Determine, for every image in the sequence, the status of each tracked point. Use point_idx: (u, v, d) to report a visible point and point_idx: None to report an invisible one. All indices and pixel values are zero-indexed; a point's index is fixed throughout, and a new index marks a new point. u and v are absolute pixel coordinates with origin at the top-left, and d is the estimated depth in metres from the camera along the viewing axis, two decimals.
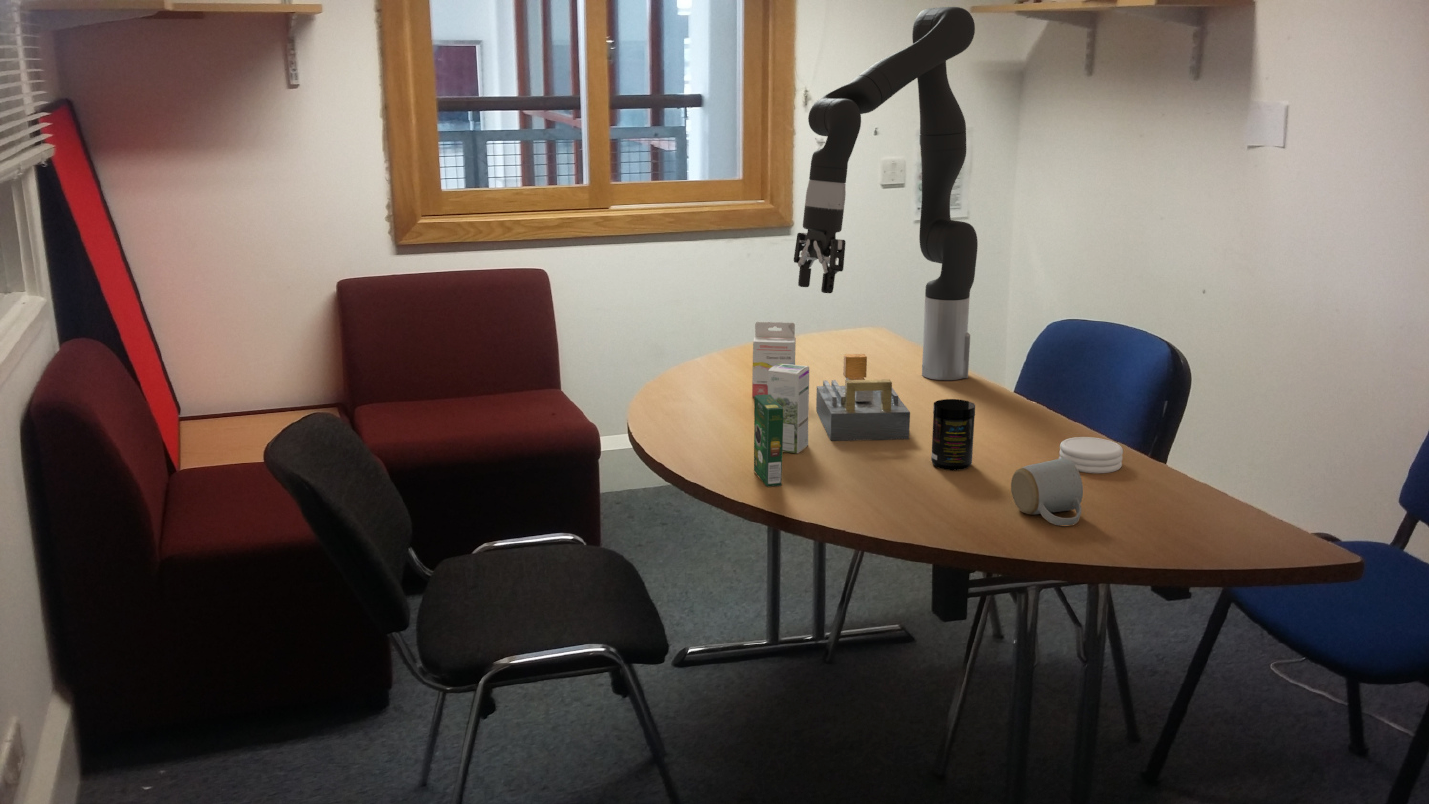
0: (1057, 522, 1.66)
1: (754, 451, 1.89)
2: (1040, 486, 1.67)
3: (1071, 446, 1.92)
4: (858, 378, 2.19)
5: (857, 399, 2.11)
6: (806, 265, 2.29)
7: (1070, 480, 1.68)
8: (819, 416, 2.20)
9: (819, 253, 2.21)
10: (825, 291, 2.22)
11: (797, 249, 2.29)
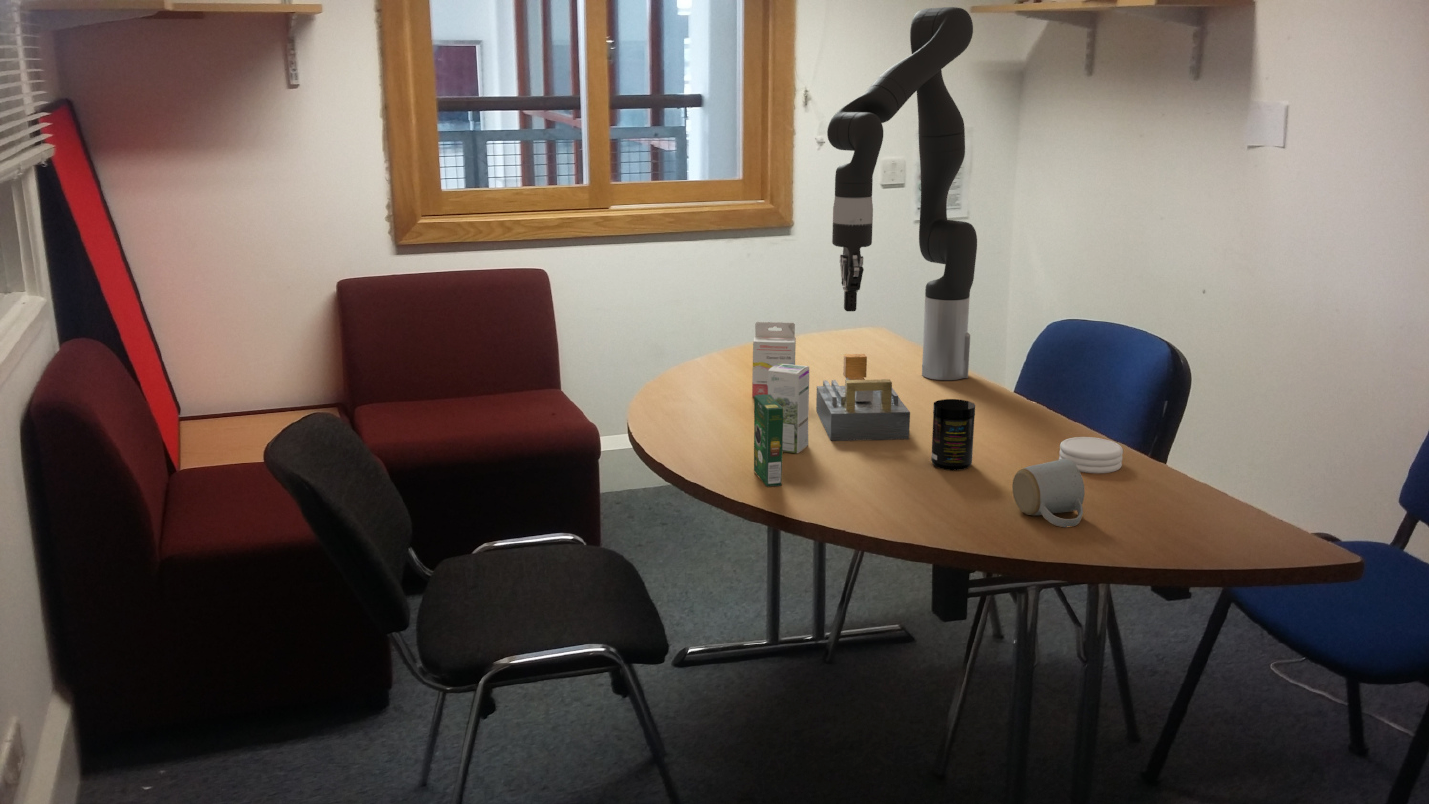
0: (1059, 523, 1.66)
1: (754, 451, 1.89)
2: (1042, 487, 1.67)
3: (1071, 446, 1.92)
4: (858, 378, 2.19)
5: (857, 399, 2.11)
6: None
7: (1072, 480, 1.68)
8: (819, 416, 2.20)
9: (843, 271, 2.22)
10: (847, 309, 2.24)
11: None
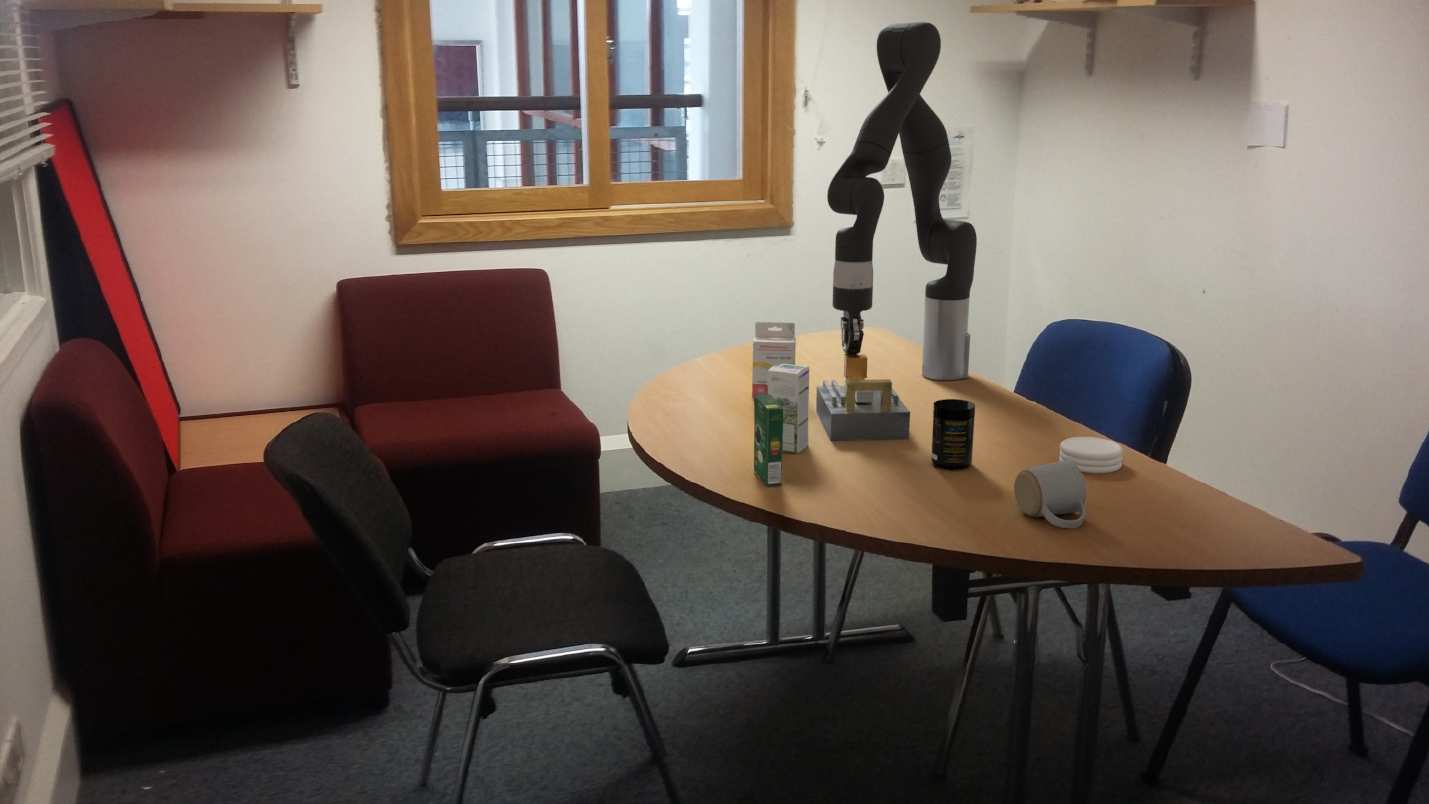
0: (1061, 524, 1.65)
1: (754, 451, 1.89)
2: (1044, 489, 1.66)
3: (1071, 446, 1.92)
4: (859, 379, 2.19)
5: (858, 400, 2.10)
6: None
7: (1074, 482, 1.67)
8: (819, 416, 2.20)
9: (843, 334, 2.21)
10: None
11: None
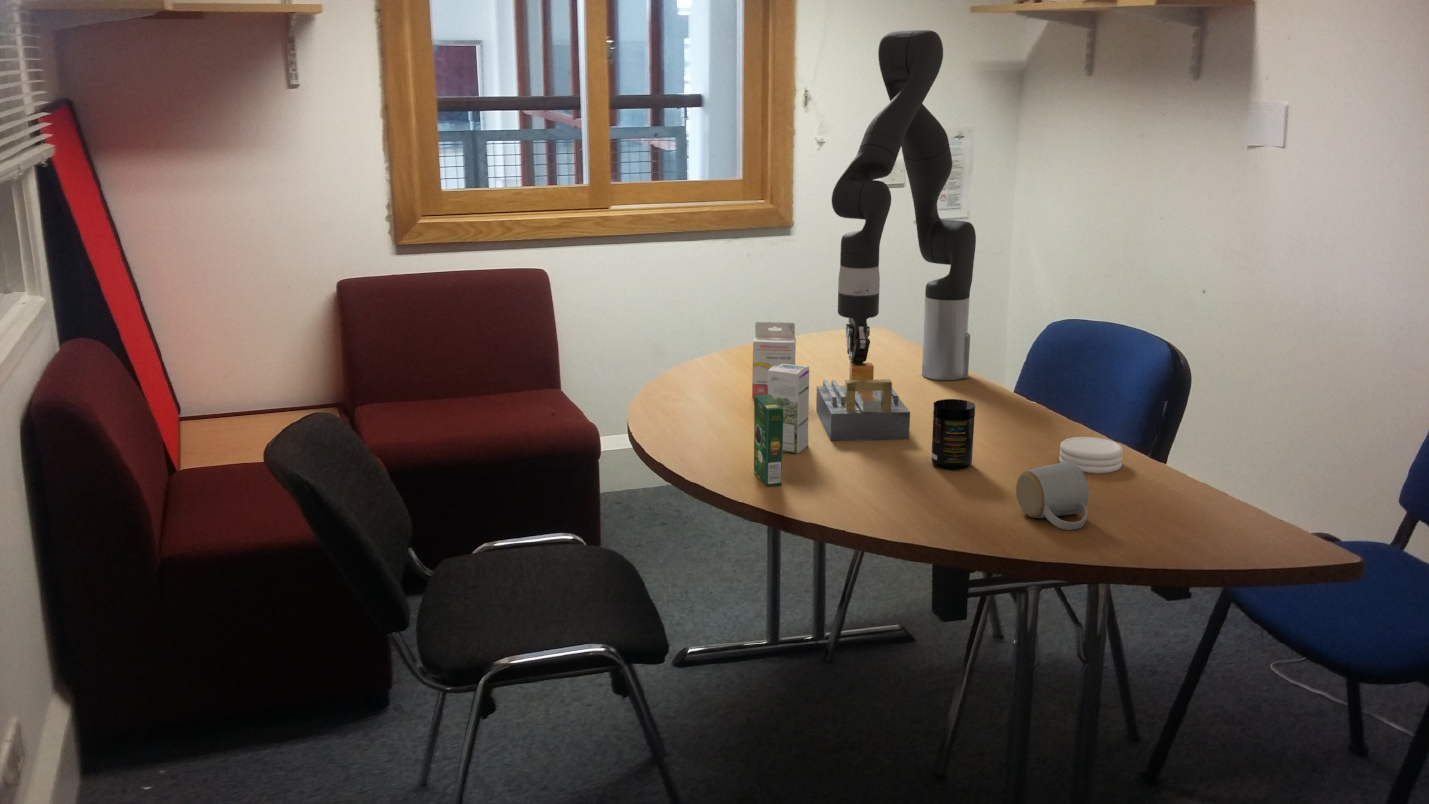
0: (1063, 526, 1.65)
1: (754, 451, 1.89)
2: (1046, 490, 1.66)
3: (1071, 446, 1.92)
4: None
5: (864, 410, 2.04)
6: None
7: (1076, 483, 1.67)
8: (819, 416, 2.20)
9: (849, 341, 2.15)
10: None
11: None
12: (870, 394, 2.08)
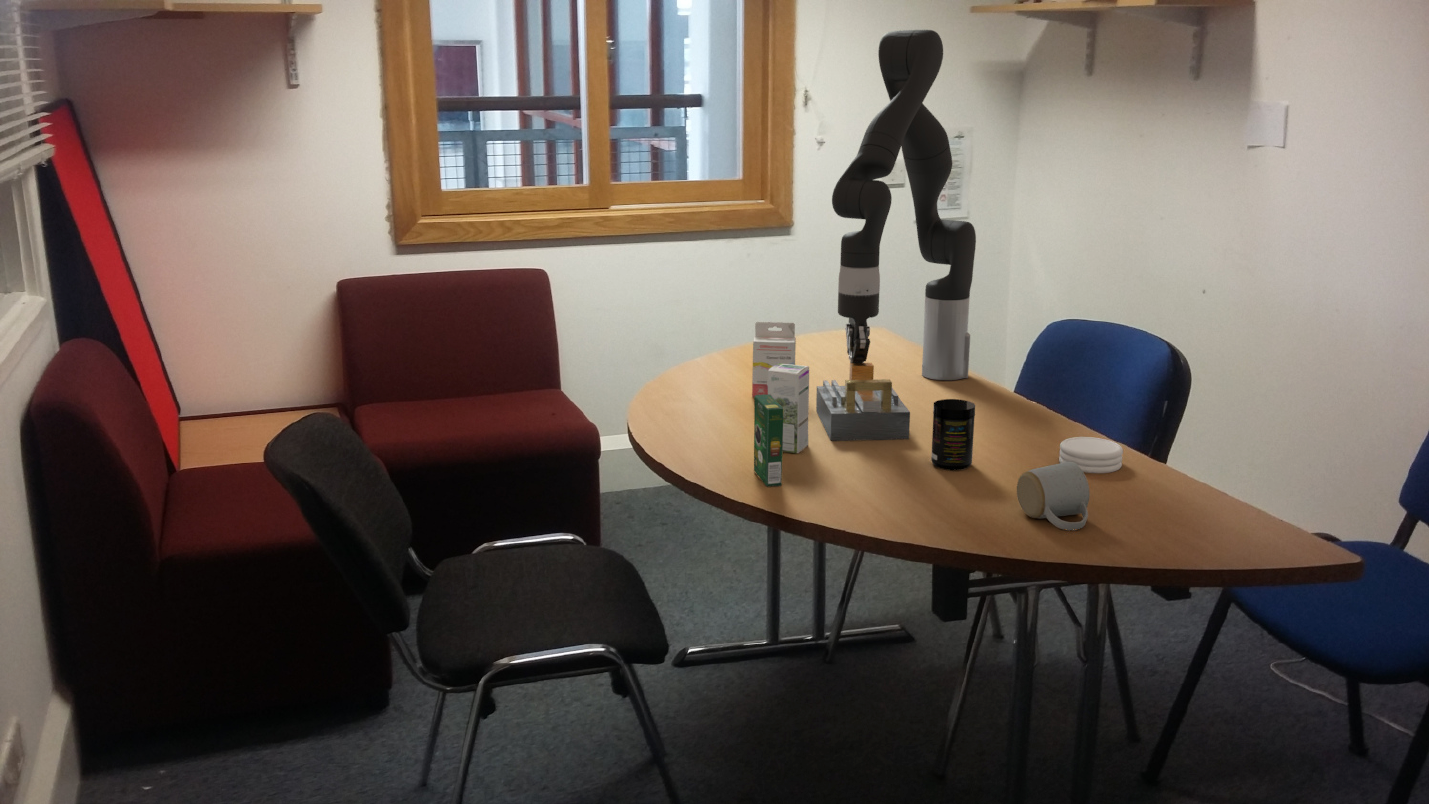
0: (1063, 526, 1.64)
1: (754, 451, 1.89)
2: (1047, 490, 1.66)
3: (1071, 446, 1.92)
4: None
5: (864, 410, 2.04)
6: None
7: (1076, 483, 1.67)
8: (819, 416, 2.20)
9: (849, 341, 2.15)
10: None
11: None
12: (870, 394, 2.08)
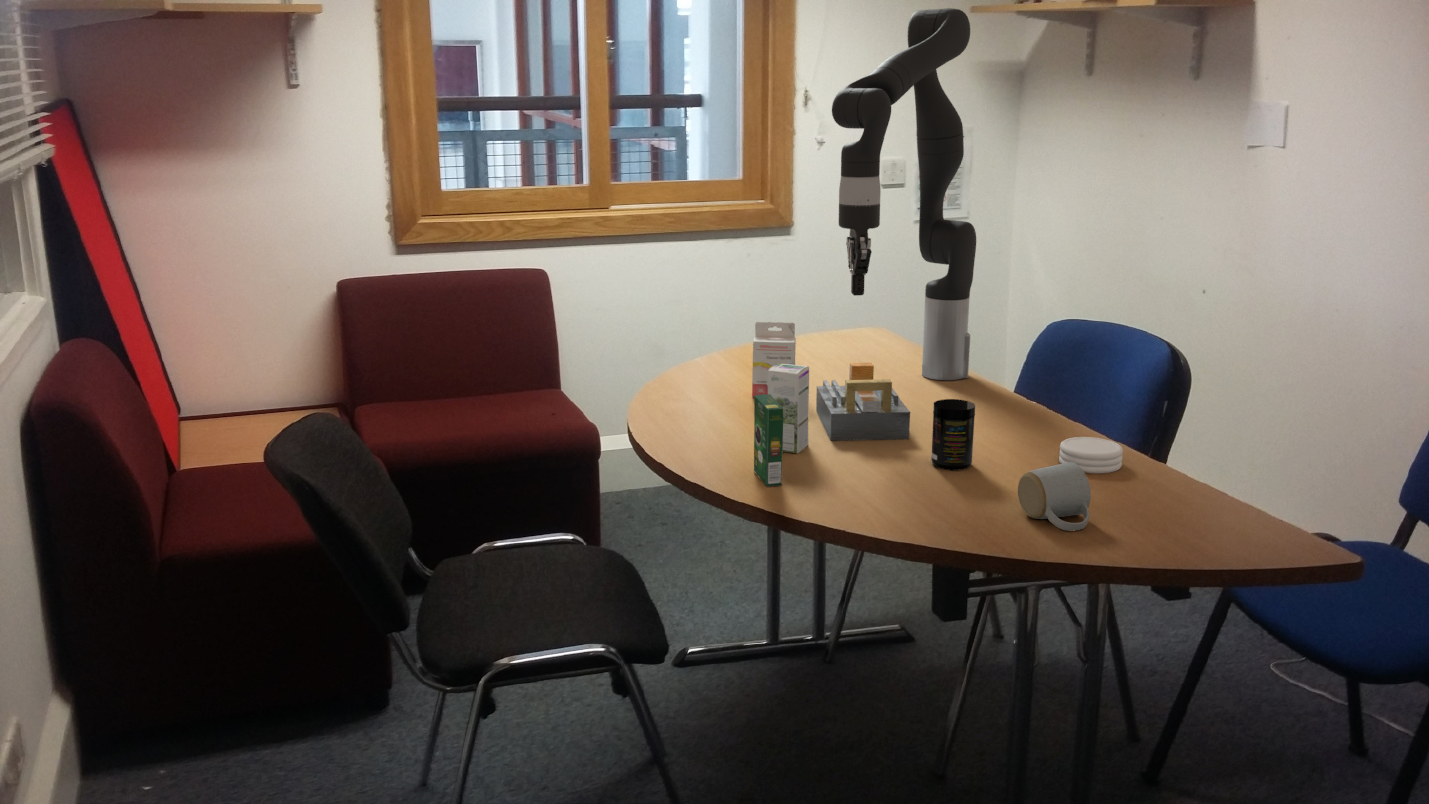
0: (1065, 527, 1.64)
1: (754, 451, 1.89)
2: (1048, 491, 1.65)
3: (1071, 446, 1.92)
4: None
5: (864, 410, 2.04)
6: None
7: (1078, 484, 1.66)
8: (819, 416, 2.20)
9: (850, 254, 2.14)
10: (855, 293, 2.17)
11: None
12: (870, 394, 2.08)
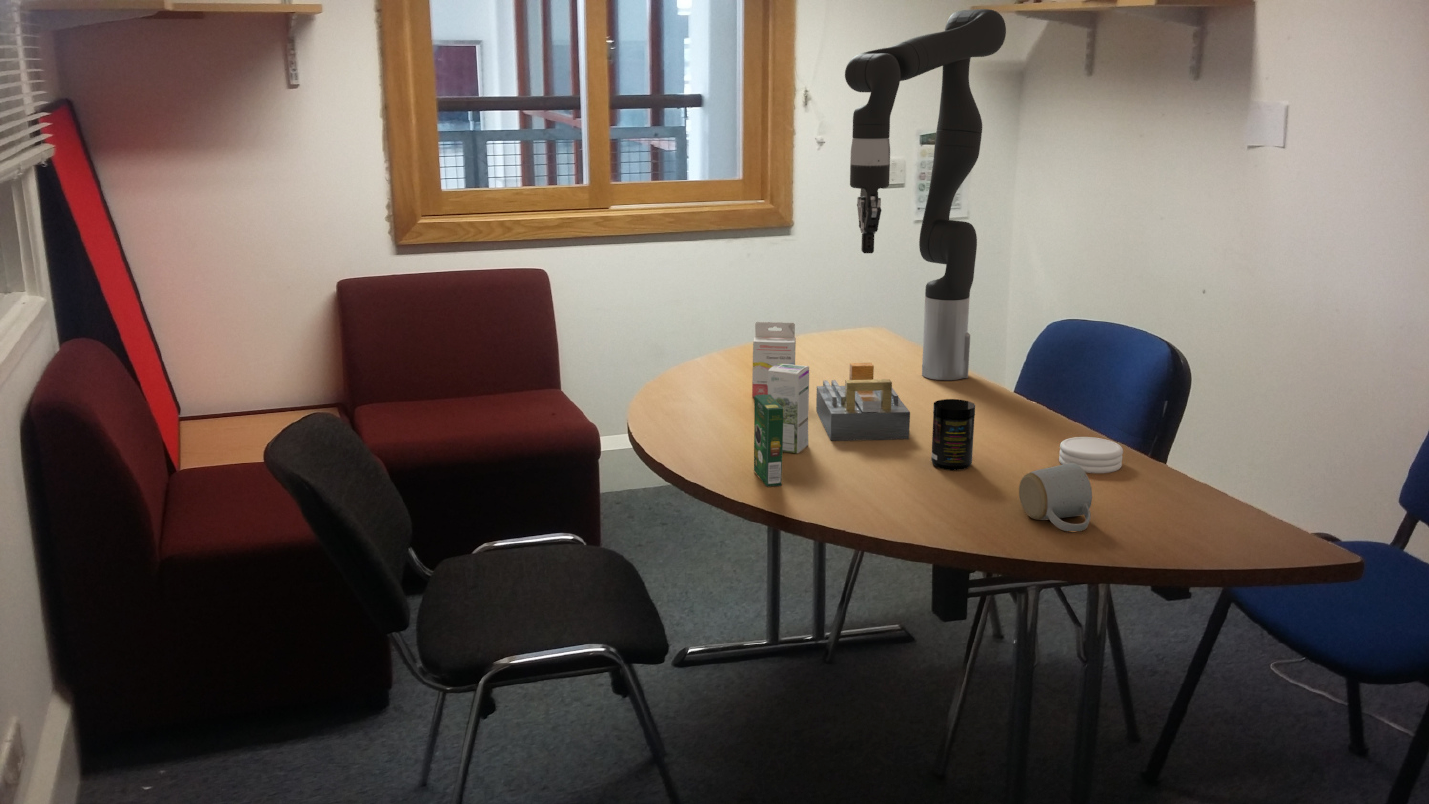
0: (1066, 528, 1.64)
1: (754, 451, 1.89)
2: (1049, 492, 1.65)
3: (1071, 446, 1.92)
4: None
5: (864, 410, 2.04)
6: None
7: (1079, 485, 1.66)
8: (819, 416, 2.20)
9: (861, 213, 2.24)
10: (865, 251, 2.26)
11: None
12: (870, 394, 2.08)
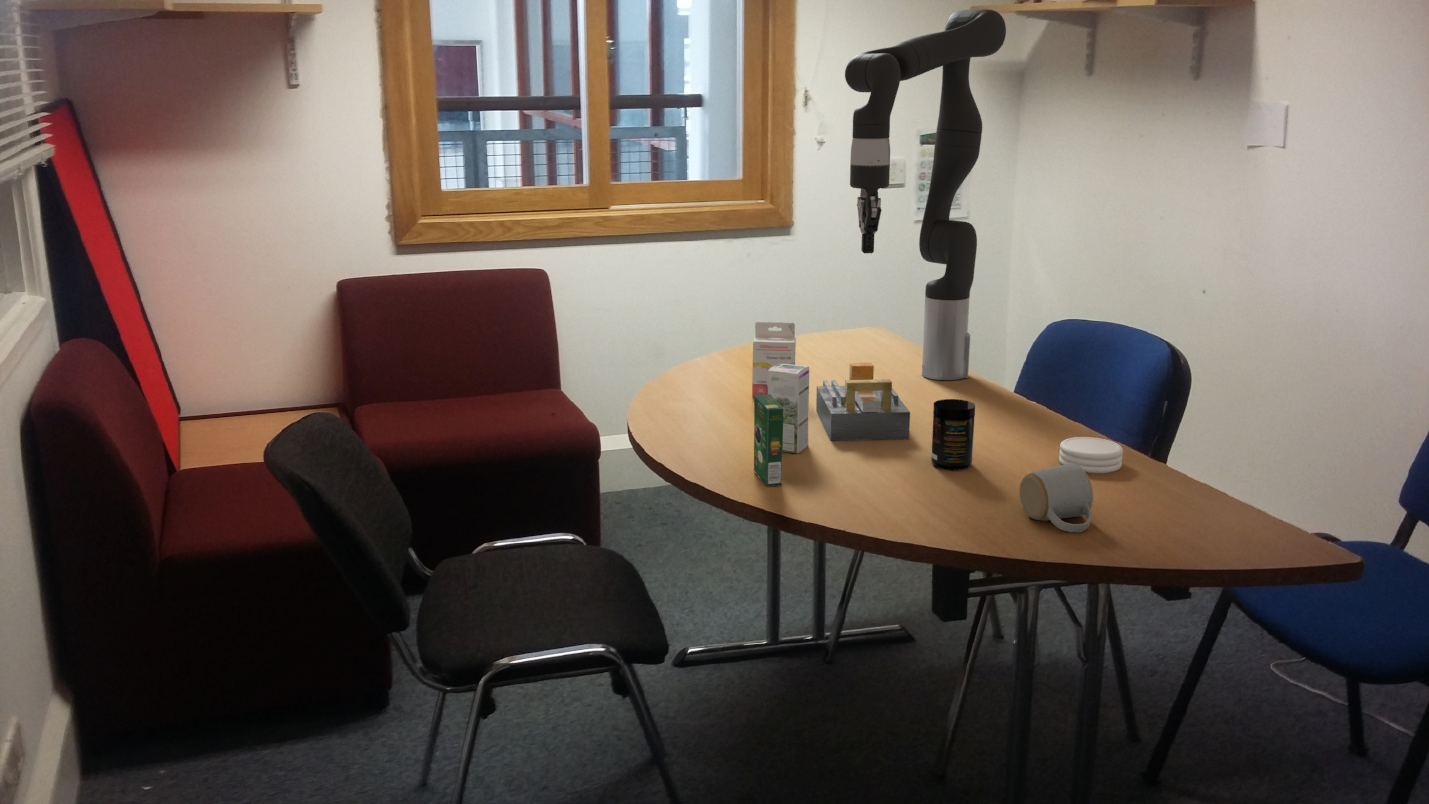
0: (1067, 528, 1.64)
1: (754, 451, 1.89)
2: (1050, 492, 1.65)
3: (1071, 446, 1.92)
4: None
5: (864, 410, 2.04)
6: None
7: (1080, 485, 1.66)
8: (819, 416, 2.20)
9: (861, 213, 2.24)
10: (865, 251, 2.26)
11: None
12: (870, 394, 2.08)
